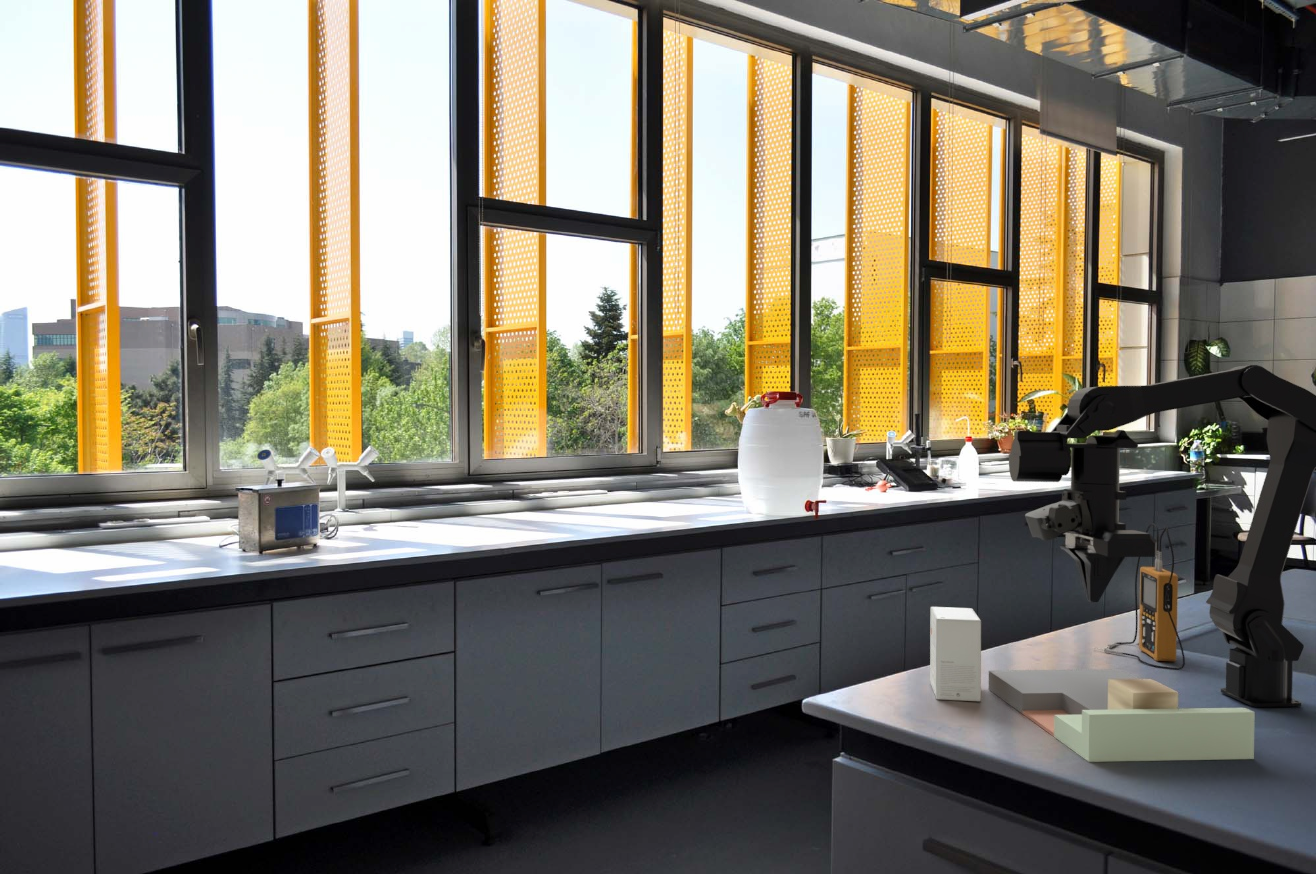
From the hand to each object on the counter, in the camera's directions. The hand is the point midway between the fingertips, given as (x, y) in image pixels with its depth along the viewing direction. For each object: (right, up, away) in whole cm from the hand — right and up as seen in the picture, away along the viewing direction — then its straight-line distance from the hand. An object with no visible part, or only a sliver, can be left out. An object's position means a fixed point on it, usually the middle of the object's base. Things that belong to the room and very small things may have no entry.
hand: (1093, 601), depth 120 cm
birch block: (-3, -10, -19) cm, 21 cm away
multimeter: (+15, -12, +19) cm, 27 cm away
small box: (-18, -12, 0) cm, 22 cm away
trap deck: (-3, -12, -10) cm, 16 cm away
